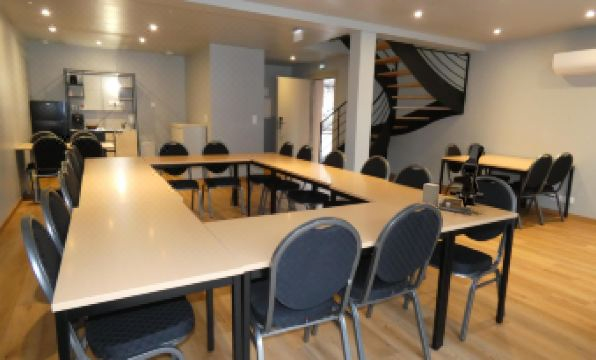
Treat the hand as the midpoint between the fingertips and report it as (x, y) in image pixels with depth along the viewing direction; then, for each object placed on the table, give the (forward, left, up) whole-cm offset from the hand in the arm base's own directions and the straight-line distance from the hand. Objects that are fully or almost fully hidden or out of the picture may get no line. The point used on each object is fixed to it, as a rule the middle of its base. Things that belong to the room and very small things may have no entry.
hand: (464, 207), depth 229 cm
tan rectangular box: (0, -7, -1) cm, 7 cm away
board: (0, -5, -2) cm, 6 cm away
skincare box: (+3, -20, -3) cm, 21 cm away
